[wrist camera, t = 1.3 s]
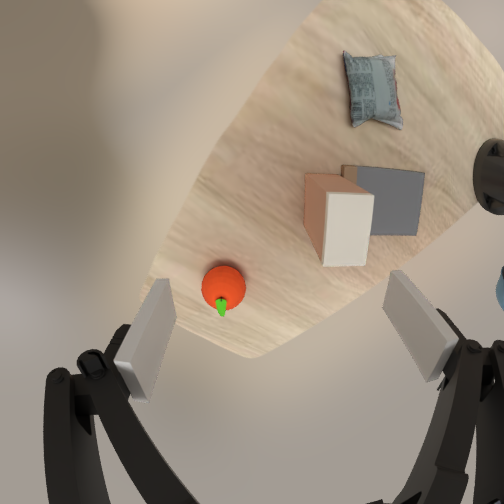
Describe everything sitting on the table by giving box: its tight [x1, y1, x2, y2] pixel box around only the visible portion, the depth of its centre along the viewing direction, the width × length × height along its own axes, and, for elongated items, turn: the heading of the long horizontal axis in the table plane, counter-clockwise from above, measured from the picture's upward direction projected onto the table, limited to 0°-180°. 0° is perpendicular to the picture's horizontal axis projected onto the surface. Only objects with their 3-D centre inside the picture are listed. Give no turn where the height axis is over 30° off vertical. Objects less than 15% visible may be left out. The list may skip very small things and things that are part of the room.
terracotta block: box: [304, 173, 374, 267], centre depth 34 cm, size 5×8×14 cm, turn 1°
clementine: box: [201, 266, 246, 316], centre depth 43 cm, size 8×7×7 cm
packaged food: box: [343, 51, 403, 130], centre depth 31 cm, size 9×12×5 cm
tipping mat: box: [341, 165, 425, 236], centre depth 40 cm, size 15×11×2 cm
